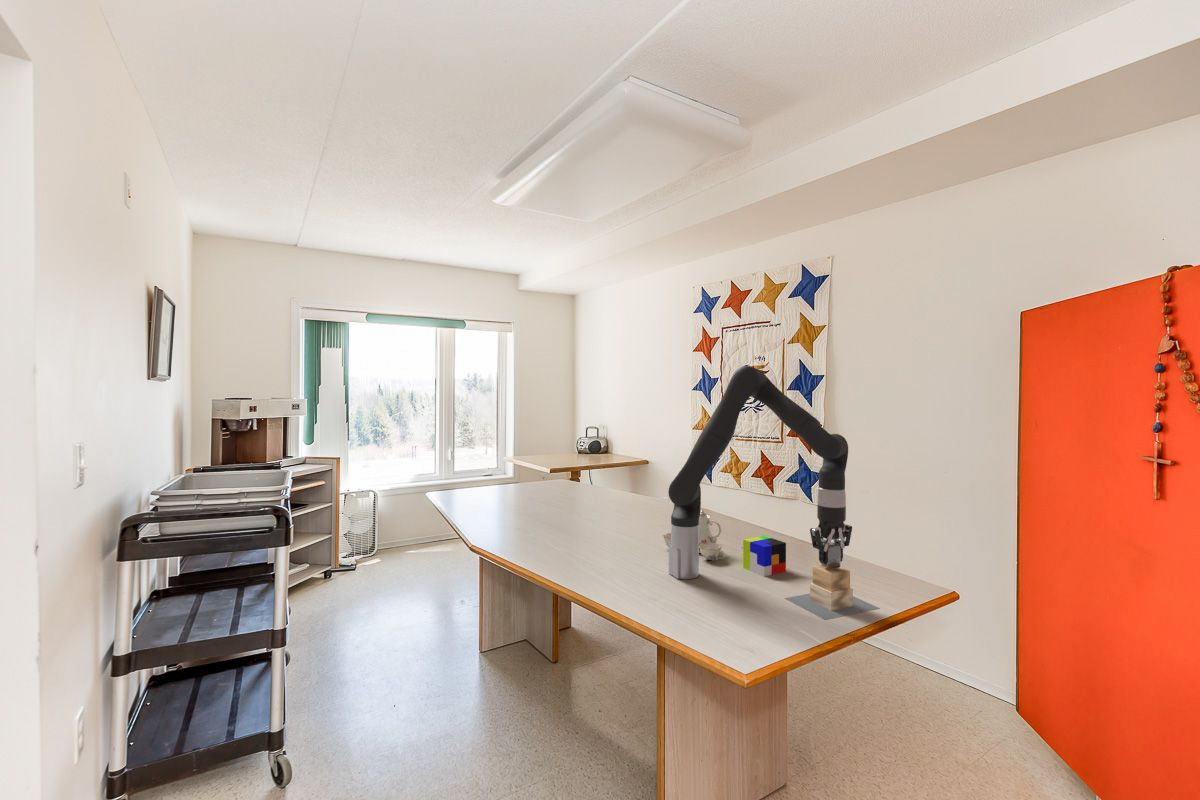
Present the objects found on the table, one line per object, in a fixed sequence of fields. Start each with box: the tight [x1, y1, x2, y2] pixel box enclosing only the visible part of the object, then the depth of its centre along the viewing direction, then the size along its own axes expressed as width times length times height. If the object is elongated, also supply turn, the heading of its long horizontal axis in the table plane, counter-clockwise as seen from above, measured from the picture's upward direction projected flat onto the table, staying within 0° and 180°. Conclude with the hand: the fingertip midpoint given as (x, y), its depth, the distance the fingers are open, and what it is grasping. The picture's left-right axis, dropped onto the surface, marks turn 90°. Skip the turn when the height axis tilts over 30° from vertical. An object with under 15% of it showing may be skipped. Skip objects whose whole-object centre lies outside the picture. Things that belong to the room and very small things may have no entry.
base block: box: [809, 582, 854, 611], centre depth 155 cm, size 8×8×5 cm
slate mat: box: [784, 593, 881, 621], centre depth 155 cm, size 20×16×1 cm
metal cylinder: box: [821, 541, 841, 568], centre depth 154 cm, size 5×5×6 cm
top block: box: [812, 564, 851, 592], centre depth 155 cm, size 7×7×5 cm
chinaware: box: [662, 508, 725, 561], centre depth 204 cm, size 28×17×17 cm, turn 46°
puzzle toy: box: [742, 535, 787, 577], centre depth 185 cm, size 10×10×10 cm
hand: (831, 561), depth 154 cm, fingers closed on metal cylinder, 5 cm apart
